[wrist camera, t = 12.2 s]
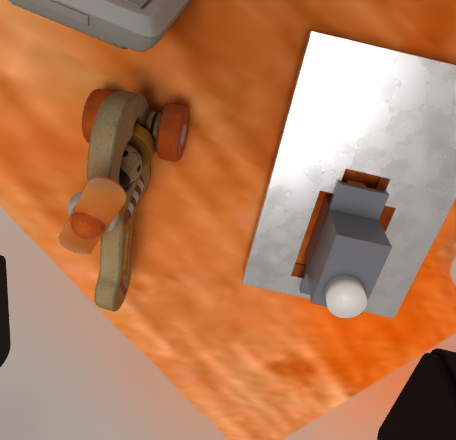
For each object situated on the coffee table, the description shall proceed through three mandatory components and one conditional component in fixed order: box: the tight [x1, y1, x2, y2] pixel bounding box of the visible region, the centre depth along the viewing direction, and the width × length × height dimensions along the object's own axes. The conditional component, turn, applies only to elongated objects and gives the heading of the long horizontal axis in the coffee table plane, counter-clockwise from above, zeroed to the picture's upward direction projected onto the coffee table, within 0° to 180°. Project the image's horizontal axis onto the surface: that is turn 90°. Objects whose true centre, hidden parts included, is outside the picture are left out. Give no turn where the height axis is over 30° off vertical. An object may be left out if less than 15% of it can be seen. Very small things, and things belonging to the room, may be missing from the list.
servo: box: [300, 180, 392, 318], centre depth 37 cm, size 12×4×10 cm, turn 169°
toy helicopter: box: [59, 89, 189, 311], centre depth 35 cm, size 8×21×14 cm, turn 170°
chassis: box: [242, 30, 456, 318], centre depth 38 cm, size 24×16×2 cm, turn 168°
